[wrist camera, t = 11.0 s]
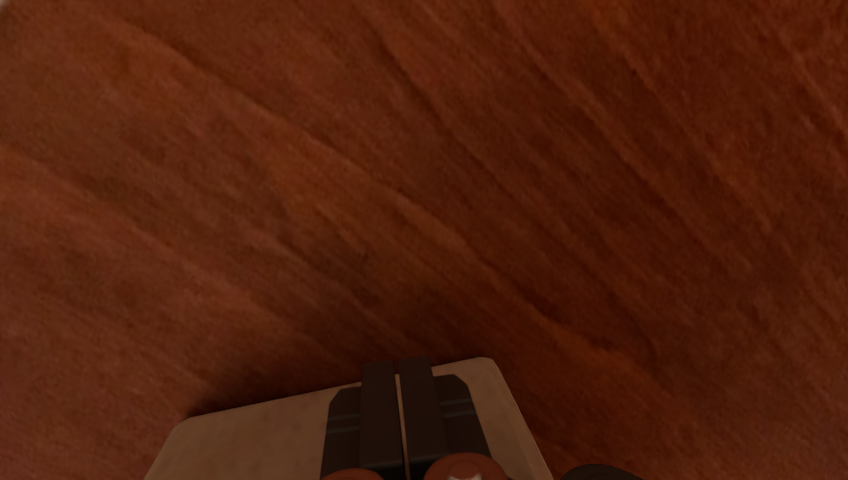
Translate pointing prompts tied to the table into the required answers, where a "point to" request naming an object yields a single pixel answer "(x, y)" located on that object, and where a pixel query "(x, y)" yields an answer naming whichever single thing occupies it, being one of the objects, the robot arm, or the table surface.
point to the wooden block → (306, 428)
